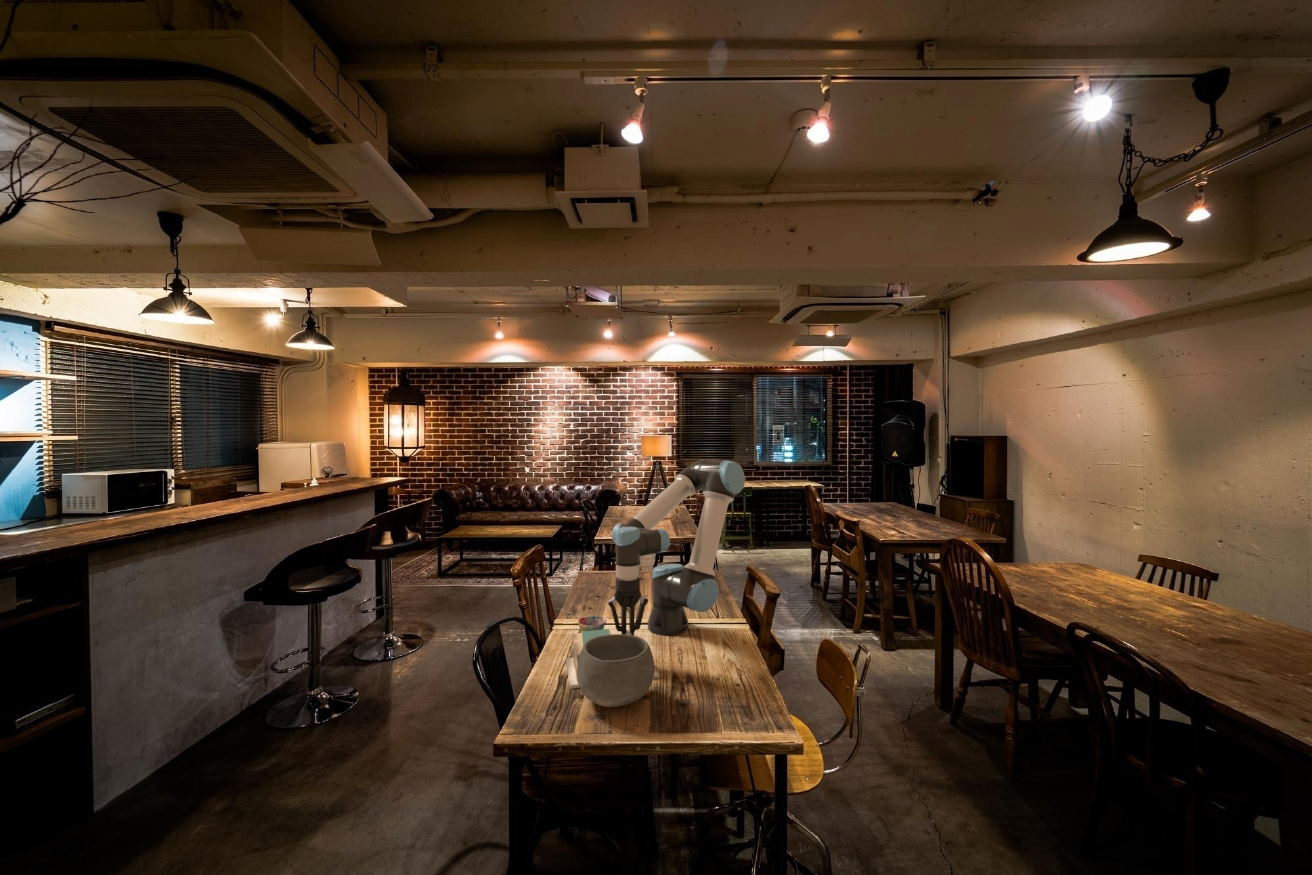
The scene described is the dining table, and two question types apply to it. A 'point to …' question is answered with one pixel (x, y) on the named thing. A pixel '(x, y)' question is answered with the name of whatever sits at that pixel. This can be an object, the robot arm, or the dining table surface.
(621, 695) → the bowl
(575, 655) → the block
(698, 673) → the dining table surface
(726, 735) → the dining table surface
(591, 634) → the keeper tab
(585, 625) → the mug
